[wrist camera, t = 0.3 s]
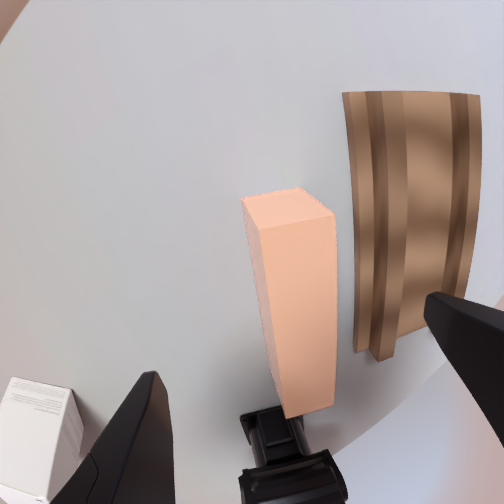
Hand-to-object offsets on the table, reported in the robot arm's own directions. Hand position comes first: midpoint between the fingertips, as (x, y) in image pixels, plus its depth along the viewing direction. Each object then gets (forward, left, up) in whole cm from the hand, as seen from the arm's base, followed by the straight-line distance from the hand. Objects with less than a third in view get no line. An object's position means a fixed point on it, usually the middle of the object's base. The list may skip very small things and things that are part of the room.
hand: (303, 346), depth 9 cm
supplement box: (-15, +24, -13) cm, 31 cm away
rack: (-4, -14, -13) cm, 20 cm away
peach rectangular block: (-7, -2, -13) cm, 15 cm away
